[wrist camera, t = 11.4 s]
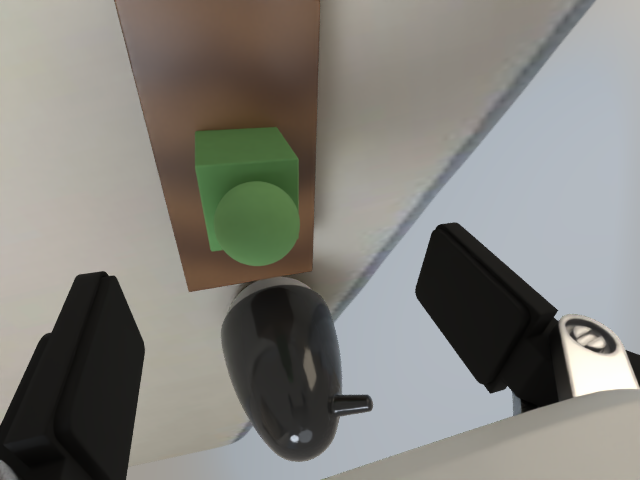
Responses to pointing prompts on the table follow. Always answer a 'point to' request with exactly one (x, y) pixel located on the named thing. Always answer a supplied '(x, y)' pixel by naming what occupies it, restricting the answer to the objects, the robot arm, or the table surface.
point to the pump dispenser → (287, 366)
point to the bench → (225, 106)
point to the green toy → (248, 193)
